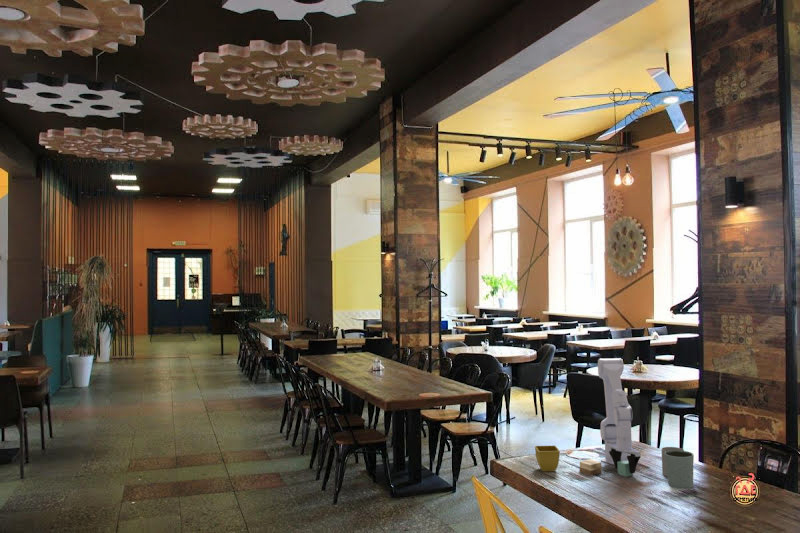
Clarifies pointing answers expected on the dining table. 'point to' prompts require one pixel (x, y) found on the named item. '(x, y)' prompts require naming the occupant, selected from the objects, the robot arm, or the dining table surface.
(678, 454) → the grey-green embossed container
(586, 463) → the oak slab
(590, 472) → the walnut slab
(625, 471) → the teal block
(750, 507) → the dining table surface
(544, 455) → the flower pot
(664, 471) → the cup
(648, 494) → the dining table surface
